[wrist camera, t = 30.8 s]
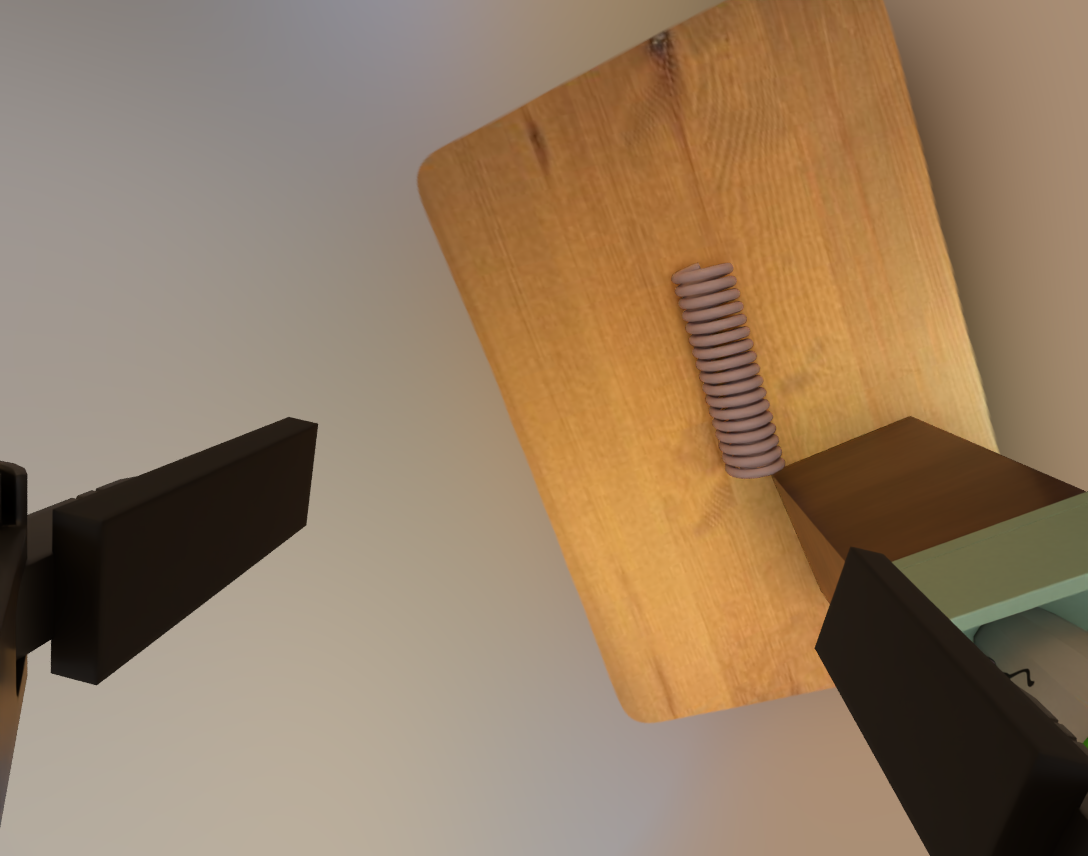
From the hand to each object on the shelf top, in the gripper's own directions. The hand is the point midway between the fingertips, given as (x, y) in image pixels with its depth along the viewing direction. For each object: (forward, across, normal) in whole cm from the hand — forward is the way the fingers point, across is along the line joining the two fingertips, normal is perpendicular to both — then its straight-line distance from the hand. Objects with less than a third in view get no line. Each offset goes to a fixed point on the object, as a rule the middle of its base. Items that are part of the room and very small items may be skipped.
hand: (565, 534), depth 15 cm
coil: (+39, +10, +1) cm, 40 cm away
